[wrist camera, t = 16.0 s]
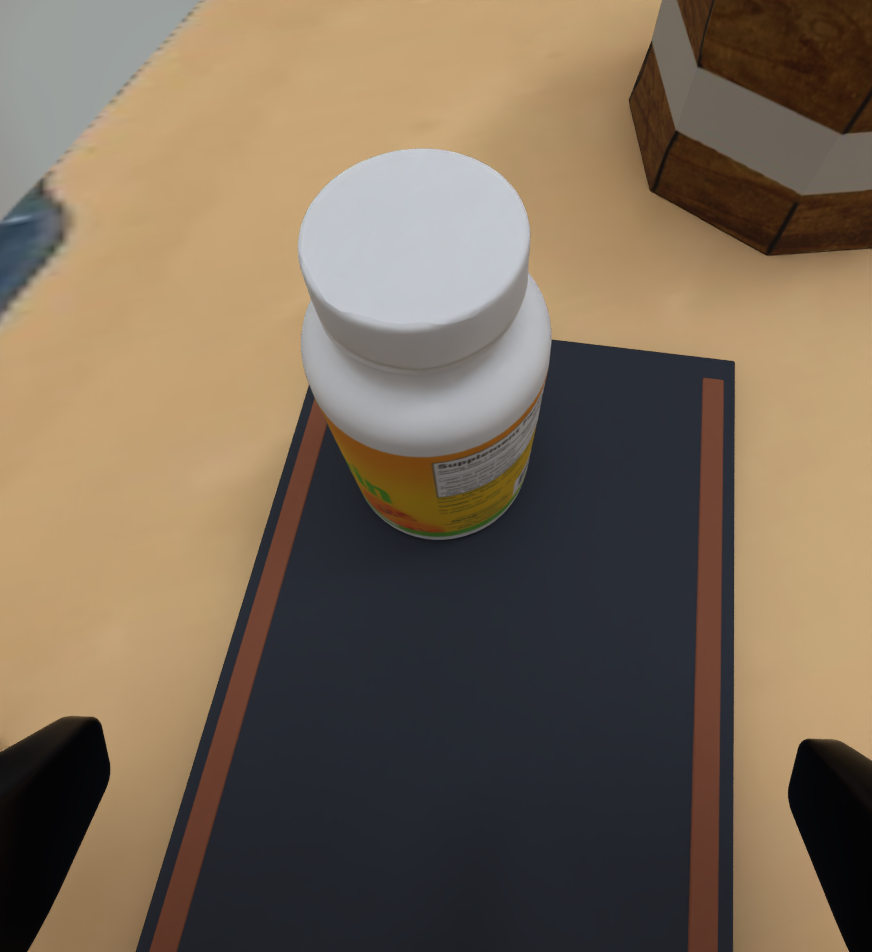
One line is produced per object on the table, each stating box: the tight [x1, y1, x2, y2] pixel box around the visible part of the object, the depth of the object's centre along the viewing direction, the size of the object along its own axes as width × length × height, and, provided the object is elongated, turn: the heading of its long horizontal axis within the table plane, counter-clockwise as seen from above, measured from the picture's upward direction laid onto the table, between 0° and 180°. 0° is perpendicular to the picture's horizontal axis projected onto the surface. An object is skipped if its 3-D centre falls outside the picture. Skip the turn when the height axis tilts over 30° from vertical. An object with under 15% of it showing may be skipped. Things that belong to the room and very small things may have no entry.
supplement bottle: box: [298, 149, 551, 540], centre depth 14 cm, size 5×5×10 cm
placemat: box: [136, 340, 735, 952], centre depth 17 cm, size 20×14×1 cm
